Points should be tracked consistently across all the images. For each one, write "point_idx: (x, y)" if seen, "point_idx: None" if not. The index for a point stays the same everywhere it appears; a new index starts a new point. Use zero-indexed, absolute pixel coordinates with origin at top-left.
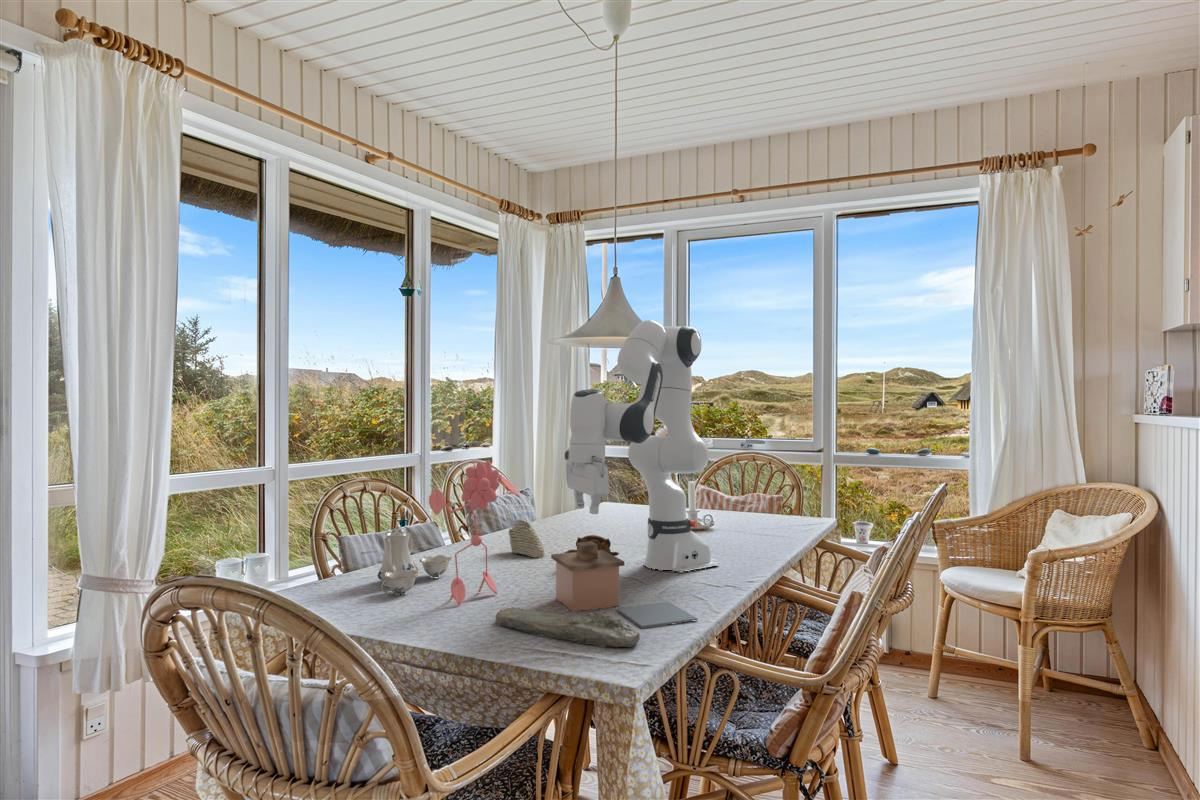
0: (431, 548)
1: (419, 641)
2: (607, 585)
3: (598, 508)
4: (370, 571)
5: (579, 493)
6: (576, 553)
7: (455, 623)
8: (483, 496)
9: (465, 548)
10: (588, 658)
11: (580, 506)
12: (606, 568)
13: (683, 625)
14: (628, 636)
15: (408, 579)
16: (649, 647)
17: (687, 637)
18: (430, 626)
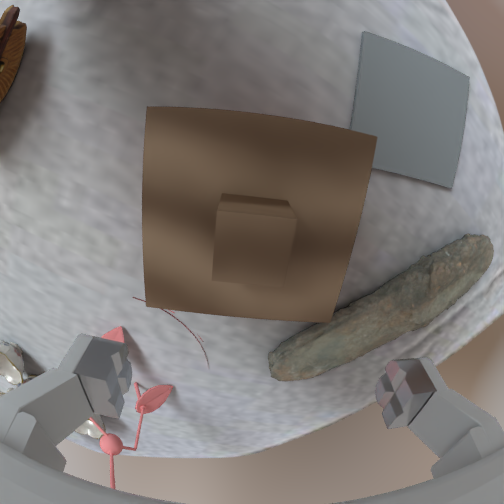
0: None
1: (292, 432)
2: None
3: (442, 378)
4: (3, 386)
5: (53, 447)
6: (165, 230)
7: (250, 404)
8: None
9: (128, 447)
10: (463, 310)
11: (125, 374)
12: None
13: (470, 114)
14: (490, 263)
15: (98, 424)
16: (493, 228)
17: (501, 154)
18: (246, 421)
